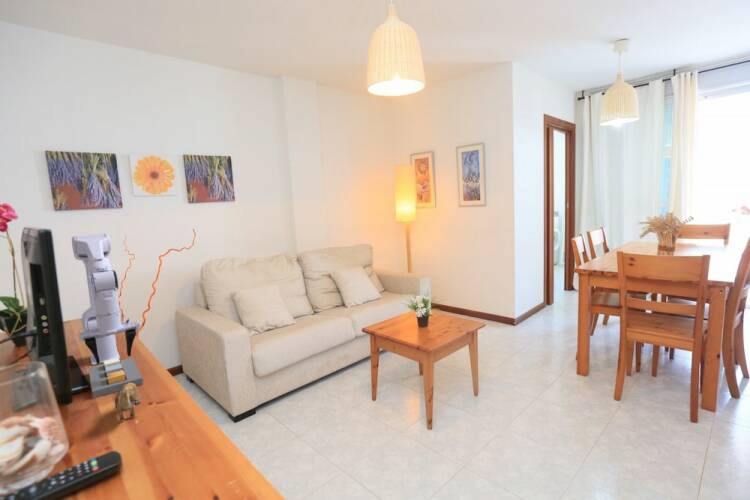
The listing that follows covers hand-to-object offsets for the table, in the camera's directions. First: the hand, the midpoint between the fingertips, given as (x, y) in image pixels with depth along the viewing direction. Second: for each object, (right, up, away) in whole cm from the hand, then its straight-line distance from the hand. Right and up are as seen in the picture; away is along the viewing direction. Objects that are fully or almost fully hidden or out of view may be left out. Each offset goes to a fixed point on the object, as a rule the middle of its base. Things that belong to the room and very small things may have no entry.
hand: (113, 358), depth 112 cm
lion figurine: (+14, -10, -15) cm, 23 cm away
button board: (-4, -8, +6) cm, 11 cm away
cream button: (-8, -6, +11) cm, 15 cm away
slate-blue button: (-4, -7, +6) cm, 10 cm away
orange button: (0, -7, +1) cm, 7 cm away
